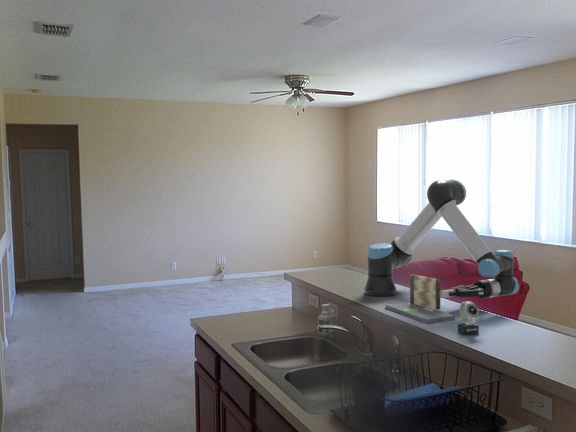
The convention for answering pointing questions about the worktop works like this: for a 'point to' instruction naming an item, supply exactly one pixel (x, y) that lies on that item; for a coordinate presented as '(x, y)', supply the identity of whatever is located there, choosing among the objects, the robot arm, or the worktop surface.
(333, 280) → the worktop surface
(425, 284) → the beige upright panel
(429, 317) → the grey rectangular base plate
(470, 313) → the watch
